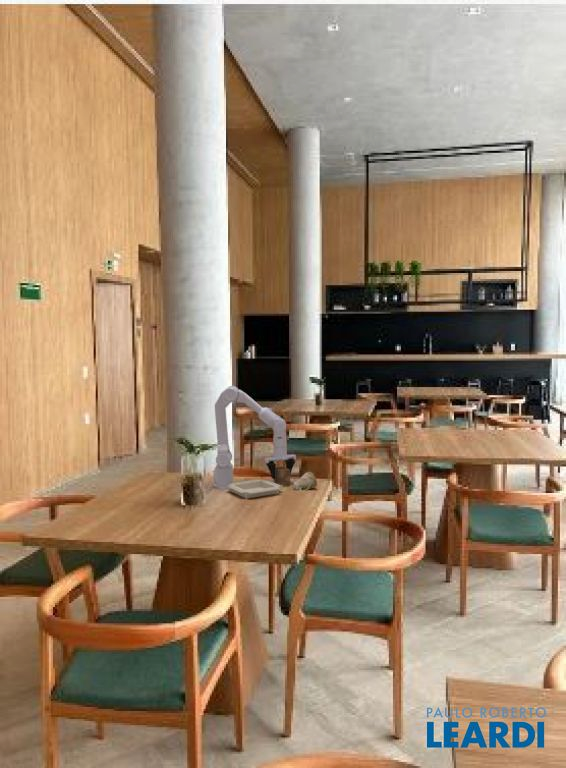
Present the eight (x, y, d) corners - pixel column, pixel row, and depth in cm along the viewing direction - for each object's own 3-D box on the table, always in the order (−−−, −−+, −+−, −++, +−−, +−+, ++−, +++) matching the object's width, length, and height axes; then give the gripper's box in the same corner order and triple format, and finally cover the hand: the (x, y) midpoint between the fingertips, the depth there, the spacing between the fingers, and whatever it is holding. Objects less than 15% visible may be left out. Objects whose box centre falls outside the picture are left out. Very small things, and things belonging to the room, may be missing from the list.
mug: (288, 490, 256) (296, 467, 259) (308, 498, 259) (315, 476, 262) (295, 489, 249) (302, 466, 252) (315, 497, 252) (322, 475, 255)
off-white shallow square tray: (223, 491, 256) (223, 484, 256) (263, 485, 265) (263, 478, 265) (244, 501, 237) (244, 494, 237) (286, 494, 247) (286, 487, 246)
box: (281, 487, 259) (281, 470, 258) (274, 483, 266) (273, 467, 265) (290, 485, 260) (290, 469, 260) (282, 482, 268) (282, 466, 267)
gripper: (269, 449, 256) (270, 481, 257) (299, 445, 263) (299, 476, 264) (262, 447, 262) (263, 478, 263) (291, 443, 269) (291, 473, 270)
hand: (281, 477), depth 264 cm, fingers open, 7 cm apart
